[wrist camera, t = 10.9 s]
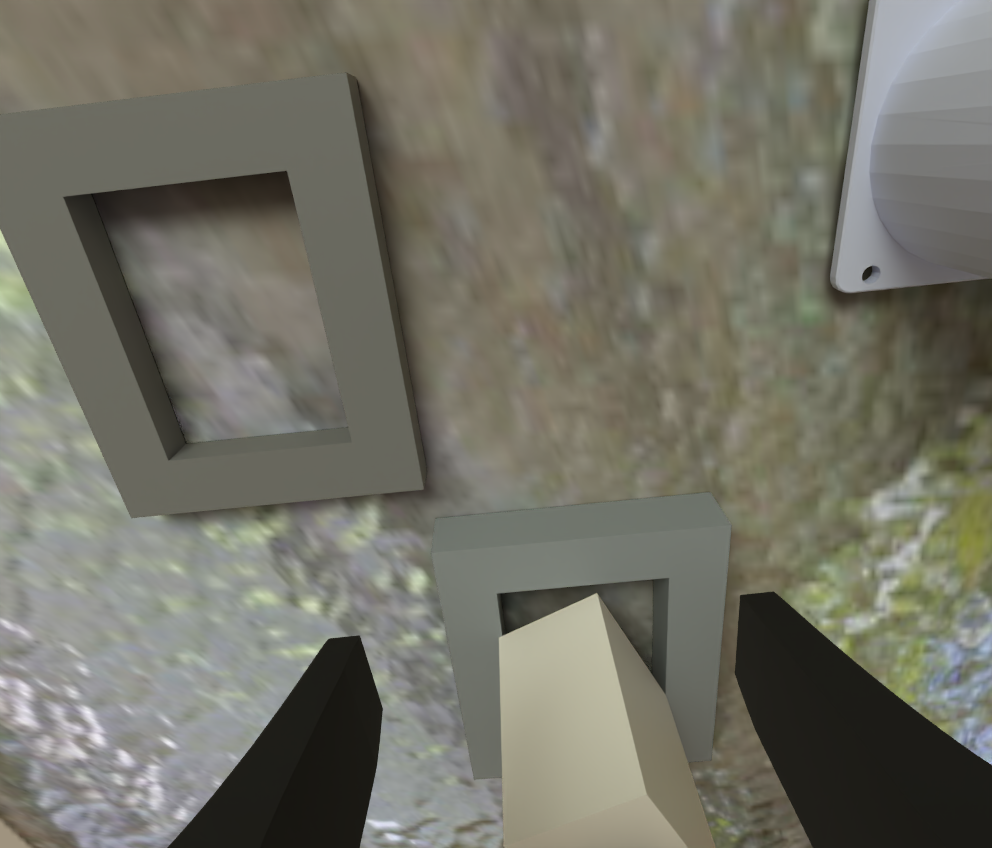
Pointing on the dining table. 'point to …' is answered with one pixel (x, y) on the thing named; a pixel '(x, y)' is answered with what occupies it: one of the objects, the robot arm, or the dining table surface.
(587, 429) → the dining table surface
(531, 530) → the port
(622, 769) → the plug
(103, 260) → the square frame plate
